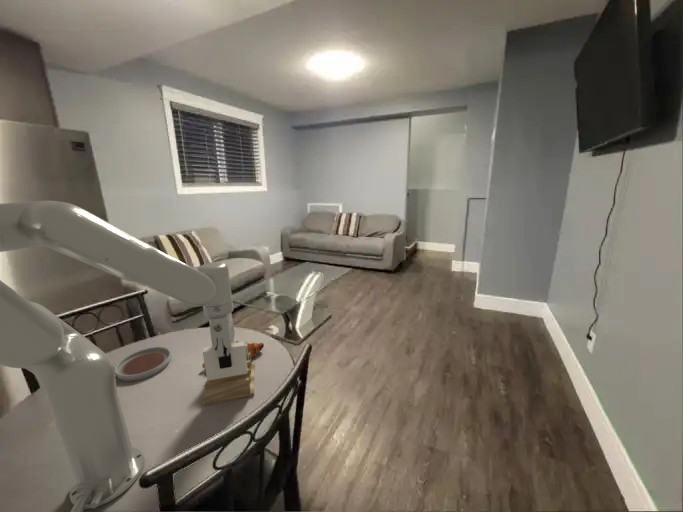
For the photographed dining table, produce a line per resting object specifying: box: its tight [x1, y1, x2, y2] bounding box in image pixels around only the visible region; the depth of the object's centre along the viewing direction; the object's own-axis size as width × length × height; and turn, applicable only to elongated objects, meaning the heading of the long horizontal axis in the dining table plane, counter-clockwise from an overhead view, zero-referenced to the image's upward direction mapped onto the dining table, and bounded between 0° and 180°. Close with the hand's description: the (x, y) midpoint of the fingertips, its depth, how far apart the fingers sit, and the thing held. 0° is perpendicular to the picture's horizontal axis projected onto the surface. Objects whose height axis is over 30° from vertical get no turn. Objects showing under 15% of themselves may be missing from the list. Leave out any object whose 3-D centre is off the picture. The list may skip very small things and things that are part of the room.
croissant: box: [201, 340, 265, 370], centre depth 101 cm, size 21×10×8 cm, turn 124°
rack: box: [202, 341, 256, 406], centre depth 89 cm, size 15×14×10 cm
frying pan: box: [114, 346, 173, 382], centre depth 96 cm, size 17×3×28 cm
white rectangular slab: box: [202, 341, 248, 382], centre depth 83 cm, size 2×11×10 cm, turn 106°
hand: (226, 363), depth 84 cm, fingers closed on white rectangular slab, 2 cm apart
